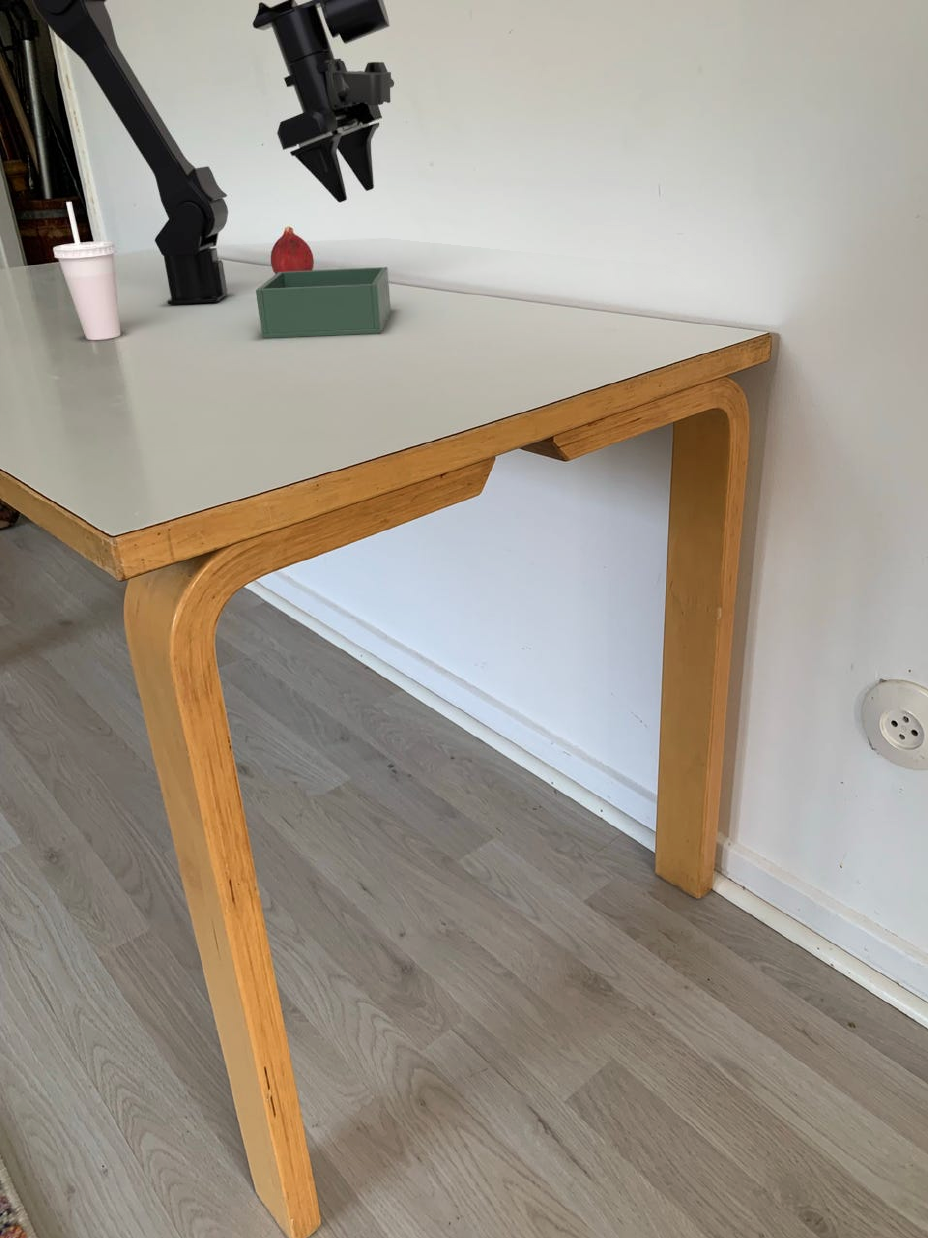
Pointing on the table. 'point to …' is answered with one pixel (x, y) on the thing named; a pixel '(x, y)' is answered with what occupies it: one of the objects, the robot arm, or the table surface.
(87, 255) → the smoothie
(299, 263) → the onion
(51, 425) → the table surface
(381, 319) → the green storage bin
